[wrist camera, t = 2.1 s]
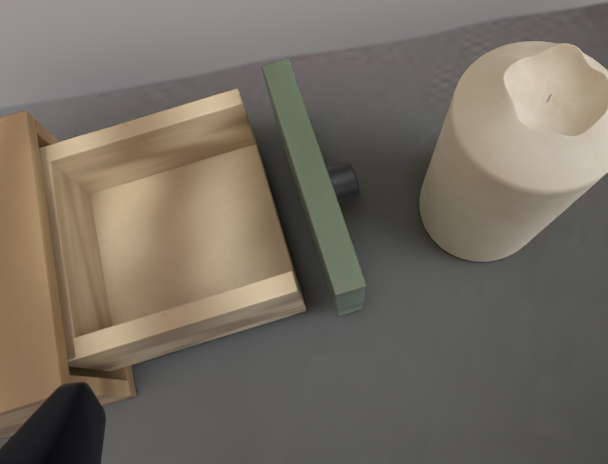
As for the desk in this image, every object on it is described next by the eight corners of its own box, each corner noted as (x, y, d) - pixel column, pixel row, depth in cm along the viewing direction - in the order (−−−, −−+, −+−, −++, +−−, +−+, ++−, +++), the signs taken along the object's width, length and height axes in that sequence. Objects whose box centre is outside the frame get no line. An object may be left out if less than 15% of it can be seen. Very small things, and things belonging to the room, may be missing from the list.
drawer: (321, 109, 26) (315, 48, 21) (389, 300, 23) (399, 276, 18) (80, 182, 26) (25, 136, 21) (114, 386, 22) (56, 382, 18)
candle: (400, 237, 24) (435, 131, 15) (440, 140, 26) (495, -12, 16) (516, 282, 23) (632, 199, 14) (550, 178, 25) (677, 39, 15)
